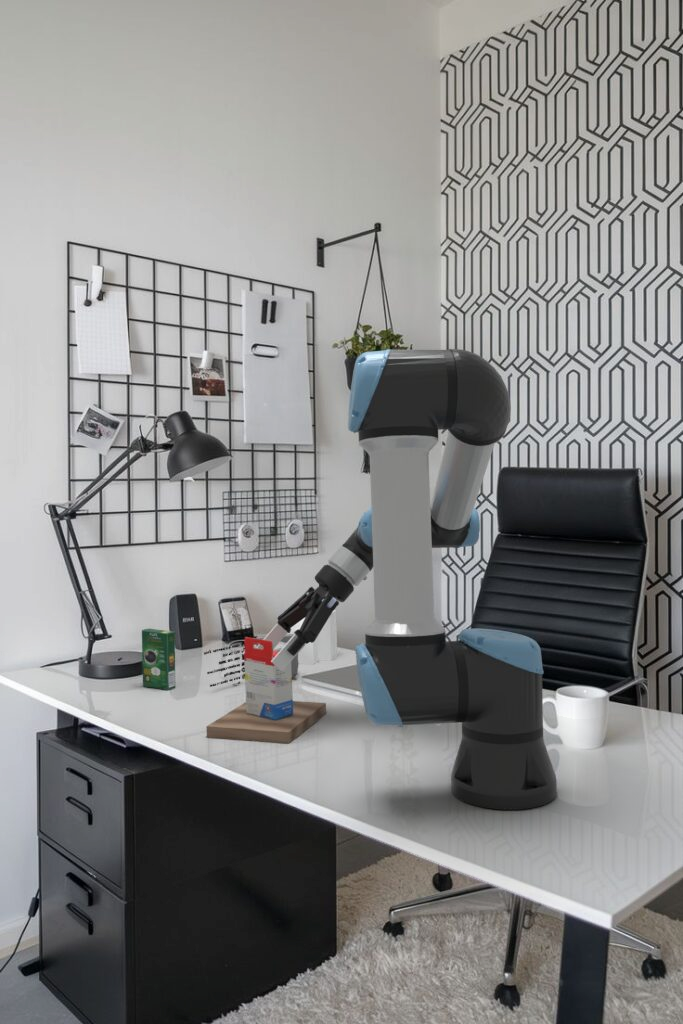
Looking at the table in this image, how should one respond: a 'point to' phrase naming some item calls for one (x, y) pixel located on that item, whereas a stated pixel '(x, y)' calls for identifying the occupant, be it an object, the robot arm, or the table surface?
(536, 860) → the table surface
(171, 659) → the coffee box
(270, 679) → the ink box
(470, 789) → the robot arm
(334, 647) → the corner bracket
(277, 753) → the table surface
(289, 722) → the walnut plate
